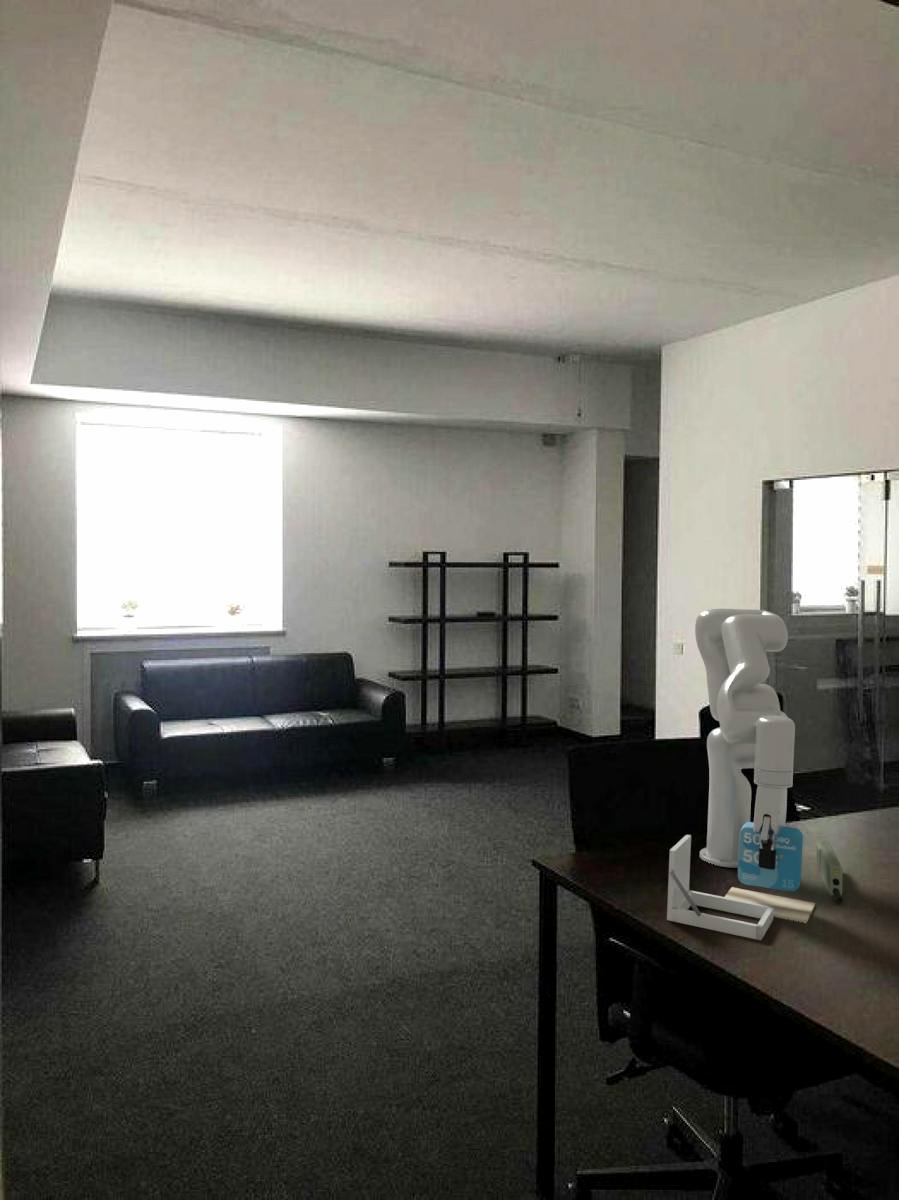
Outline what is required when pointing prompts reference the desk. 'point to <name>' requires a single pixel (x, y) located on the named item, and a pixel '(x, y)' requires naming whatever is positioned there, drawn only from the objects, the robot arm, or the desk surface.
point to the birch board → (775, 904)
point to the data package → (786, 859)
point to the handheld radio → (829, 868)
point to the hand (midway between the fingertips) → (769, 863)
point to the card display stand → (709, 901)
